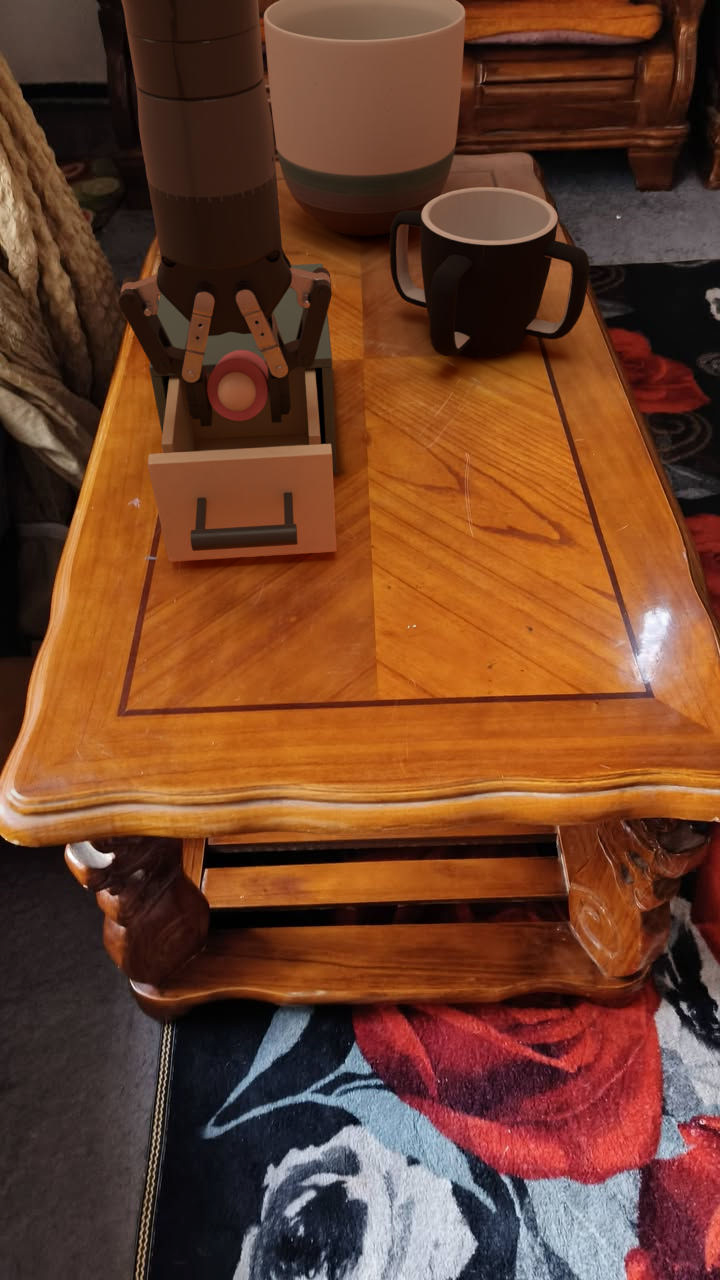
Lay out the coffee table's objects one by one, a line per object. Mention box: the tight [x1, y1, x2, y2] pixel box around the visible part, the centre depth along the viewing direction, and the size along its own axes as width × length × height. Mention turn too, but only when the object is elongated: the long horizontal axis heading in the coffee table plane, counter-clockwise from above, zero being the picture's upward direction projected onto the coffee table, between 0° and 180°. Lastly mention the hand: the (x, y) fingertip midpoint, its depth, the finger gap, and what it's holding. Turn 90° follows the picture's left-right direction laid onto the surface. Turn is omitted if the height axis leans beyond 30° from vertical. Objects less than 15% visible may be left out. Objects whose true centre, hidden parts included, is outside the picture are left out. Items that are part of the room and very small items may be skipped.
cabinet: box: [148, 263, 338, 474], centre depth 80 cm, size 16×14×11 cm
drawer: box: [147, 368, 337, 563], centre depth 71 cm, size 19×12×9 cm, turn 4°
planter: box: [263, 0, 466, 237], centre depth 104 cm, size 20×20×21 cm
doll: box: [207, 350, 269, 421], centre depth 68 cm, size 4×4×8 cm
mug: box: [389, 186, 591, 358], centre depth 89 cm, size 16×16×12 cm
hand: (242, 417), depth 68 cm, fingers open, 4 cm apart
